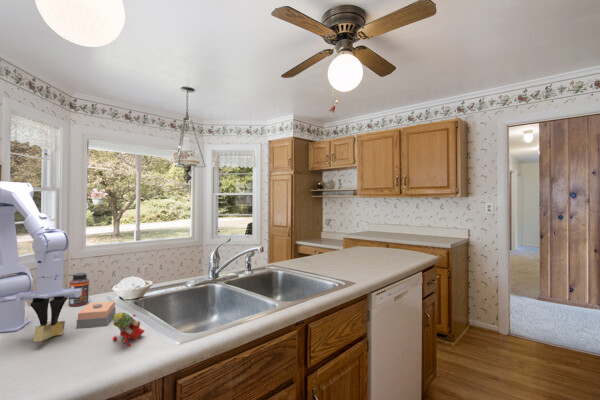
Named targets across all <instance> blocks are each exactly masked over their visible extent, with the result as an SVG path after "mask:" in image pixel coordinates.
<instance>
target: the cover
mask: <svg viewBox="0 0 600 400" xmlns="http://www.w3.org/2000/svg"><path fill="white" fill-rule="evenodd" d="M115 307H116V301H105V302H104V301H103V302H102V301H101V302H90V303H89V302H88V303H87V305H85V306H84V307H83V308H82V309H81V310H80V311H79V312H78V313H77V320H83V319H95V318H107V316H108V315H109V314H110V313H111V311H112V310H113V309H114V308H115Z"/></svg>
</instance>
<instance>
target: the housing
mask: <svg viewBox="0 0 600 400" xmlns="http://www.w3.org/2000/svg"><path fill="white" fill-rule="evenodd" d="M115 314H116V306H115V308H114V309H113V310H112V311H111V313H110V314H109V315H108V316H107V318H95V319H83V320H78V319H77V320H76V329H87V328H98V327H107V326H108V325H109V324H110V322H111V321H113V316H114V315H115Z"/></svg>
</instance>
